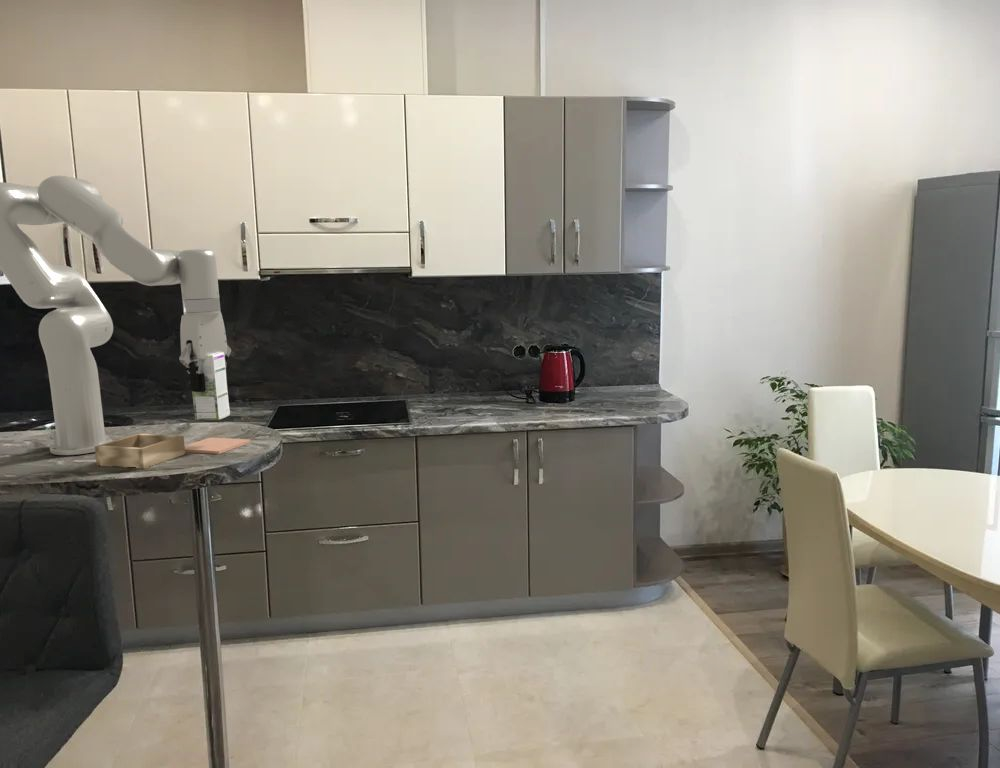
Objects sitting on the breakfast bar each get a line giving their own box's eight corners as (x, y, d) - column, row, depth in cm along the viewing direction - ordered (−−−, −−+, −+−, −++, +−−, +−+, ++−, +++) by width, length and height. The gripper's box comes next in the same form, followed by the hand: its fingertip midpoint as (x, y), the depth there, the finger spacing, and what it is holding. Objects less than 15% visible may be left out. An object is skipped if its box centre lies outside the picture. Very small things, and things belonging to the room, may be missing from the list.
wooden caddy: (96, 465, 157) (94, 446, 156) (140, 451, 168) (138, 433, 168) (144, 468, 153) (142, 449, 153) (185, 453, 165) (183, 435, 164)
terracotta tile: (176, 451, 167) (176, 448, 167) (209, 440, 178) (209, 437, 177) (219, 453, 164) (218, 451, 164) (250, 442, 174) (250, 439, 174)
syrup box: (231, 414, 172) (225, 350, 170) (218, 420, 166) (212, 354, 164) (206, 415, 173) (200, 351, 171) (193, 420, 167) (187, 354, 165)
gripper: (213, 305, 175) (220, 382, 178) (158, 310, 159) (167, 395, 162) (241, 304, 173) (248, 382, 176) (188, 309, 157) (197, 396, 159)
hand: (209, 388), depth 169 cm, fingers closed on syrup box, 6 cm apart
